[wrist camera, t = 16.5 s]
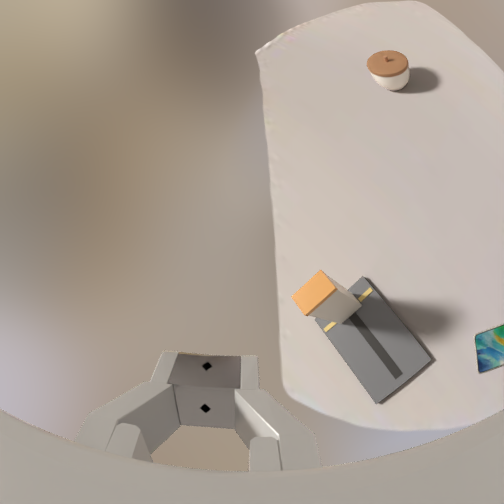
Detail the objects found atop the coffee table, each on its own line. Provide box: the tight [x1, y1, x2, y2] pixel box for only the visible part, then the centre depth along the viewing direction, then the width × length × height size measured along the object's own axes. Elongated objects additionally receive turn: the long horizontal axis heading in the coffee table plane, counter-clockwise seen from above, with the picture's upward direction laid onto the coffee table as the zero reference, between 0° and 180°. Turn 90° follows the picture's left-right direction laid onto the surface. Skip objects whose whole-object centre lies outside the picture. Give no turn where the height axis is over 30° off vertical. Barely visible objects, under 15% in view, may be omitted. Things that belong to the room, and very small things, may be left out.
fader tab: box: [291, 270, 362, 324], centre depth 42 cm, size 3×5×17 cm, turn 124°
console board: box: [315, 276, 431, 404], centre depth 45 cm, size 20×12×1 cm, turn 35°
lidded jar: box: [367, 50, 410, 91], centre depth 53 cm, size 11×11×9 cm
